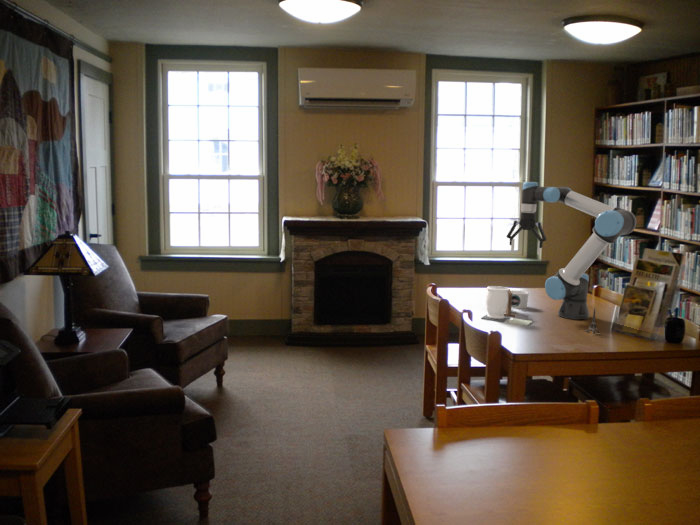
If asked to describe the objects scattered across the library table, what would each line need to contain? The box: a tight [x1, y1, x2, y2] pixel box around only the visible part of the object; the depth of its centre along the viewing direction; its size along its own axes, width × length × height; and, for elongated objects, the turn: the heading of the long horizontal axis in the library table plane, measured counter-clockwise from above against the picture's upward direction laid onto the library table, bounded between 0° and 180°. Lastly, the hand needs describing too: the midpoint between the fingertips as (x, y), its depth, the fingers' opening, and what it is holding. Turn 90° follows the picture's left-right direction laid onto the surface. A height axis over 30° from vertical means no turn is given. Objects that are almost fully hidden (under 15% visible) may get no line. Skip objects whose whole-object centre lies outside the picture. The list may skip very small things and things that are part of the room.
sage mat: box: [508, 317, 533, 326], centre depth 345 cm, size 9×9×1 cm
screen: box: [504, 286, 516, 318], centre depth 366 cm, size 6×18×12 cm, turn 175°
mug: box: [510, 289, 529, 310], centre depth 383 cm, size 13×10×8 cm
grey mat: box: [480, 313, 510, 323], centre depth 352 cm, size 11×11×1 cm
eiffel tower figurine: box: [585, 307, 601, 334], centre depth 328 cm, size 15×10×13 cm
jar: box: [485, 285, 510, 319], centre depth 351 cm, size 11×10×15 cm
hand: (525, 253), depth 368 cm, fingers open, 13 cm apart
